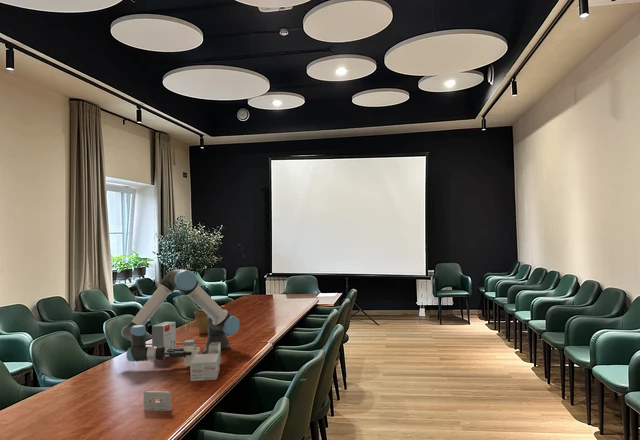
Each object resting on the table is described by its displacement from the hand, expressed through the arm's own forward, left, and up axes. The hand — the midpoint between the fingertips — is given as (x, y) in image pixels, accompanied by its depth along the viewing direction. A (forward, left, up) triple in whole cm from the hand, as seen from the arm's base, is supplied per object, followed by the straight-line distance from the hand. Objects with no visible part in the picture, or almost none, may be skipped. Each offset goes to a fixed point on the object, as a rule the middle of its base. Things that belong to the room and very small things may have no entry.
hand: (198, 351), depth 266 cm
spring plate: (-3, +2, -8) cm, 9 cm away
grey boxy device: (-6, +4, -8) cm, 11 cm away
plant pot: (-44, -87, -9) cm, 98 cm away
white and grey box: (+3, -2, -7) cm, 8 cm away
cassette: (+42, +51, -9) cm, 66 cm away
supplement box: (+5, +18, -9) cm, 21 cm away
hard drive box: (+6, -37, -9) cm, 39 cm away
